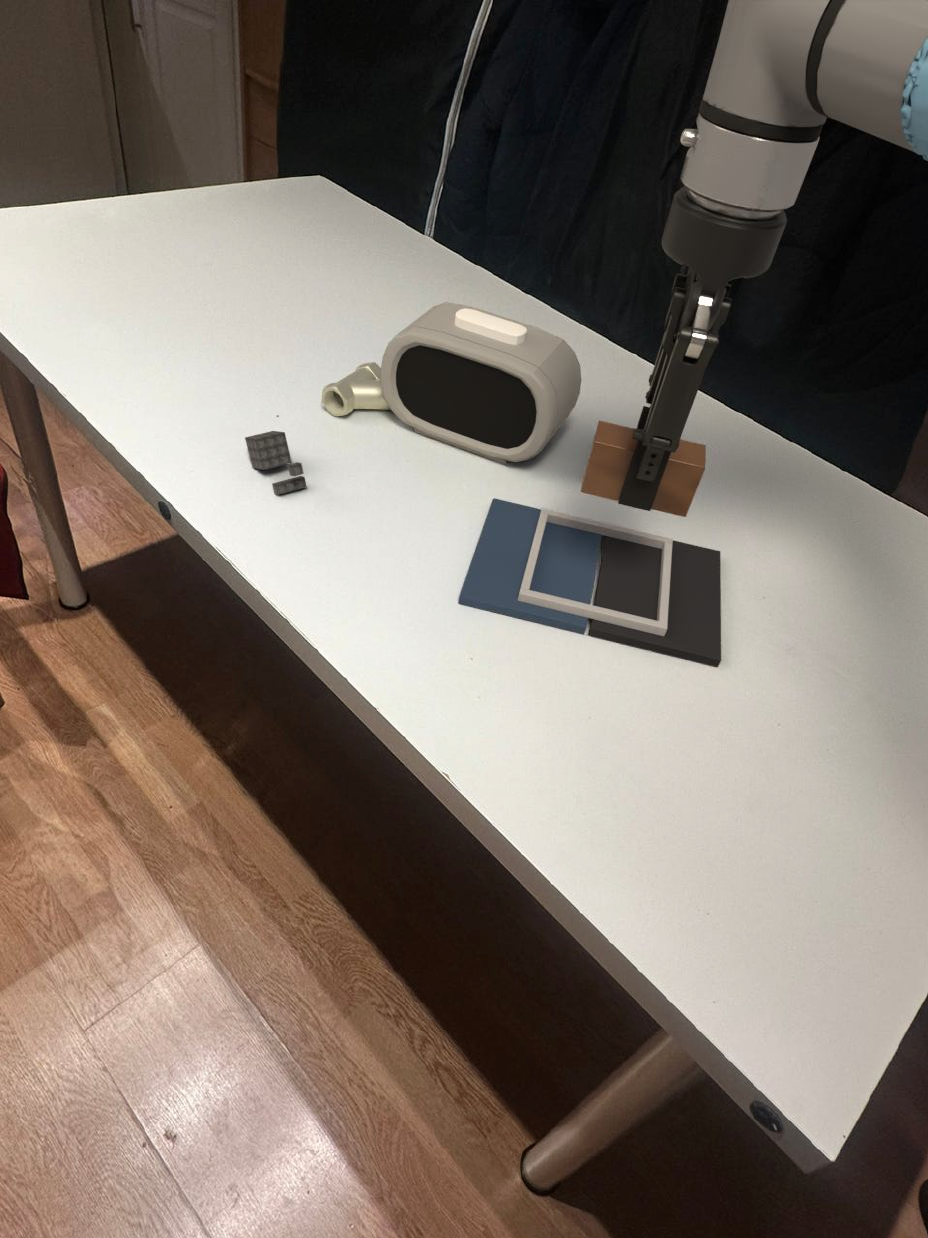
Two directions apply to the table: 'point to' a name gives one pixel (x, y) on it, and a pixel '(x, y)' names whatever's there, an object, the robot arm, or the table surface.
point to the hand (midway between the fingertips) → (636, 490)
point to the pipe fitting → (356, 391)
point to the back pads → (626, 588)
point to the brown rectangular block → (614, 461)
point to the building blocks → (275, 459)
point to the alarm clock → (481, 381)
